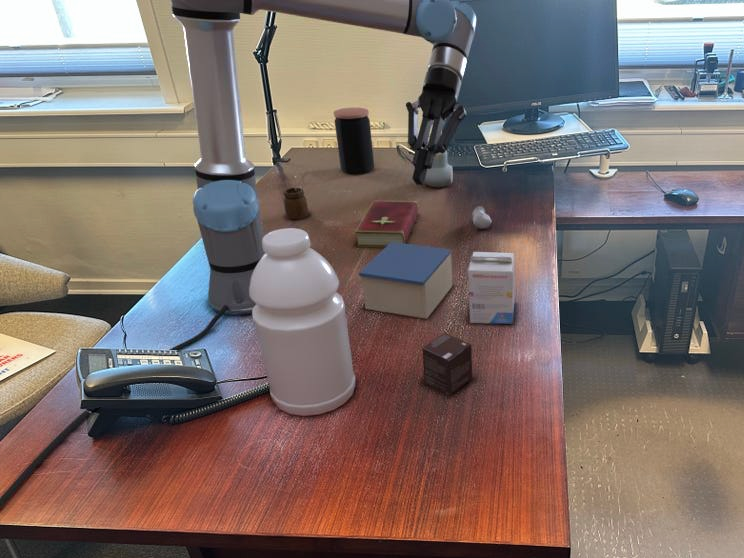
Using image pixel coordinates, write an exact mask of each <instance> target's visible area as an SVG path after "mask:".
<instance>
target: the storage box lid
mask: <svg viewBox="0 0 744 558" xmlns="http://www.w3.org/2000/svg"><path fill="white" fill-rule="evenodd" d="M450 254H451V255H452V249H449V248H442V247H436V246H435V247H434V246H426V245H419V244H411V243H397V242H391V243H390V244H389V245H388V246H387V247H384V248H383V249H382V250H381V251H380V252H379V253H378V254H377V255H376V256H375V257H374V258H372V259H371V260H370V261H369V263H368V264H366V265H365V267H363V268H362V269H360V271H359V272H358V276H359V277H361V276H362V277H368V278H375V279H382V280H388V281H395V282H402V283H409V284H415V285H422V286H423V285H424V284H425V283H426V282H427V281H428V279H429V278H430V277H431V276H432V275H433V274H434V272H435V271H436V270H437V269H438V268H439V267H440V265H441V264H442V263H443V262H444V261H445V259H446V258H447V257H448V256H449V255H450ZM362 277H361V278H362Z"/></svg>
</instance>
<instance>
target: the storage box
mask: <svg viewBox="0 0 744 558" xmlns="http://www.w3.org/2000/svg"><path fill="white" fill-rule="evenodd" d="M452 269H453V267H452V253H451V254H450V255H449V256H448V257H447V258H446V259H445V261H444V262H443V263H442V264H441V265H440V267H439V268H438V269H437V270H436V271H435V272H434V274H433V275H432V276H431V277H430V278H429V279H428V281H427V282H426V283H425V284H424V285H423V286H422V285H415V284H409V283H402V282H395V281H388V280H382V279H375V278H368V277H362V276H360V278H361V285H362V292H363V293H362V294H363V299H364V307H365V310H369V311H370V310H371V311H375V312H383V313H389V314H395V315H400V316H408V317H414V318H420V319H426V320H427V319H428V318H429V317H430V316H431V314H433V312H434V311H435V309H436V308H437V306H438V305H439V304H440V303H441V301H442V300H443V299H444V298H445V296H446V295H447V294H448V292H449V291H450V290H451V289H452V288H453V270H452Z"/></svg>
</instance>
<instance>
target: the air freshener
mask: <svg viewBox="0 0 744 558" xmlns="http://www.w3.org/2000/svg"><path fill="white" fill-rule="evenodd" d="M453 168H454V167H453V166H452V165H451V164H449V162H448V151H447V150H446V151H445V153H443V154H442V153H437V154H436V155H435V157H434V161H433V165H432V168H431V169H427V173H426V177H425V181H424V185H426V186H428V187H431V188H444V187H448V186H450V185H451V184H453V178H454V177H453V176H454V170H453Z"/></svg>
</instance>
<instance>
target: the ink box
mask: <svg viewBox="0 0 744 558" xmlns="http://www.w3.org/2000/svg"><path fill="white" fill-rule="evenodd" d="M515 256H516V255H515V253H514V252H496V251H495V252H490V251H472V255H471V256H470V257H469V259H470V262H469V265H468V268H467V282H468V286H467V287H468V305H469V306H468V307H469V308H468V309H469V323H470V324H491V325H494V324H497V325H513V323H514V312H515V270H516V269H515V265H516V263H515Z"/></svg>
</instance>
